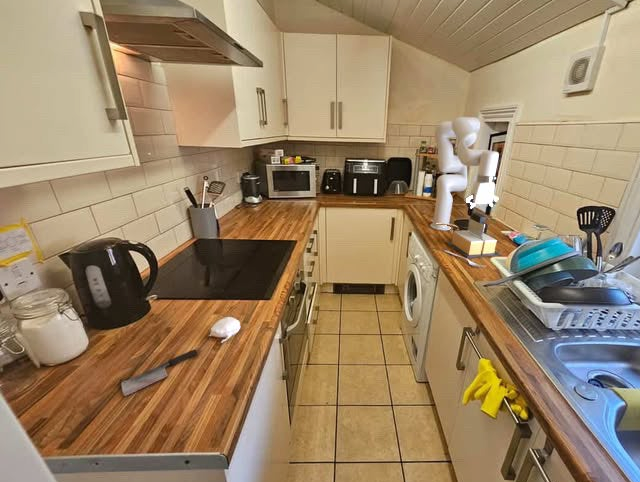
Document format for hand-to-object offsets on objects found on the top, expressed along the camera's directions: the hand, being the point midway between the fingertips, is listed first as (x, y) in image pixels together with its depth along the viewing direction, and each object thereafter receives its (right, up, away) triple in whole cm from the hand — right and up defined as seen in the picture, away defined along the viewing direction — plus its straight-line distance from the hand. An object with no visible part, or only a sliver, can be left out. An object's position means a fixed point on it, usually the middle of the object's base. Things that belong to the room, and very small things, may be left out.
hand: (478, 215), depth 145 cm
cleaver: (-105, -47, -73) cm, 136 cm away
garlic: (-96, -42, -58) cm, 120 cm away
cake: (-1, -16, +7) cm, 18 cm away
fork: (-10, -21, -5) cm, 24 cm away
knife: (0, -9, +4) cm, 10 cm away
